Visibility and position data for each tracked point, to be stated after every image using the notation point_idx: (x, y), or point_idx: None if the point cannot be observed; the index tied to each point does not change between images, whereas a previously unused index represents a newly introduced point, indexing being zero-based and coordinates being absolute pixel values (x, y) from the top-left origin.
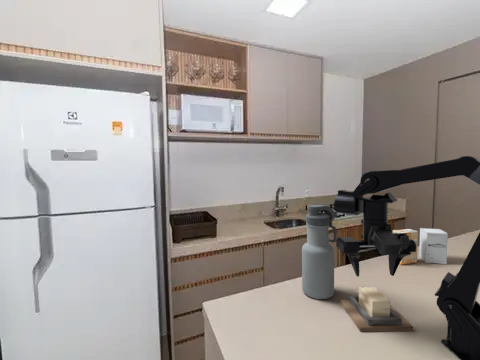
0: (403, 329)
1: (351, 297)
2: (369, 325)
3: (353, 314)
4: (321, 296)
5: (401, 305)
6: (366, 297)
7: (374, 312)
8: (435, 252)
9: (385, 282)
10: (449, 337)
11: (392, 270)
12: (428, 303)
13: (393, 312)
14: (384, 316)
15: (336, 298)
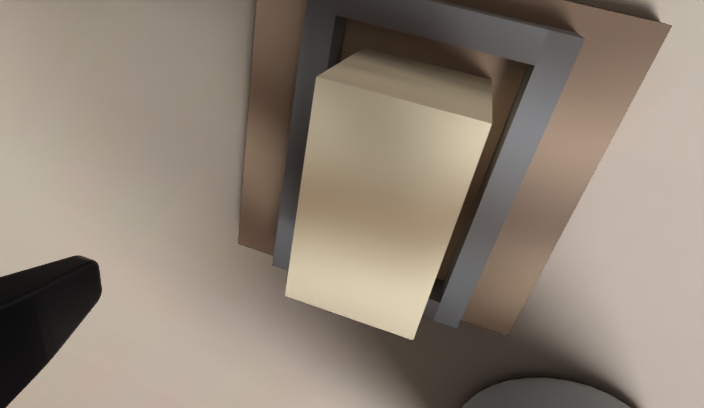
0: None
1: (457, 310)
2: (569, 29)
3: (566, 180)
4: (606, 403)
5: (178, 176)
6: (456, 217)
7: (472, 90)
8: None
9: (136, 349)
10: None
11: (31, 304)
12: (38, 142)
13: (309, 68)
14: (397, 61)
15: (488, 358)
